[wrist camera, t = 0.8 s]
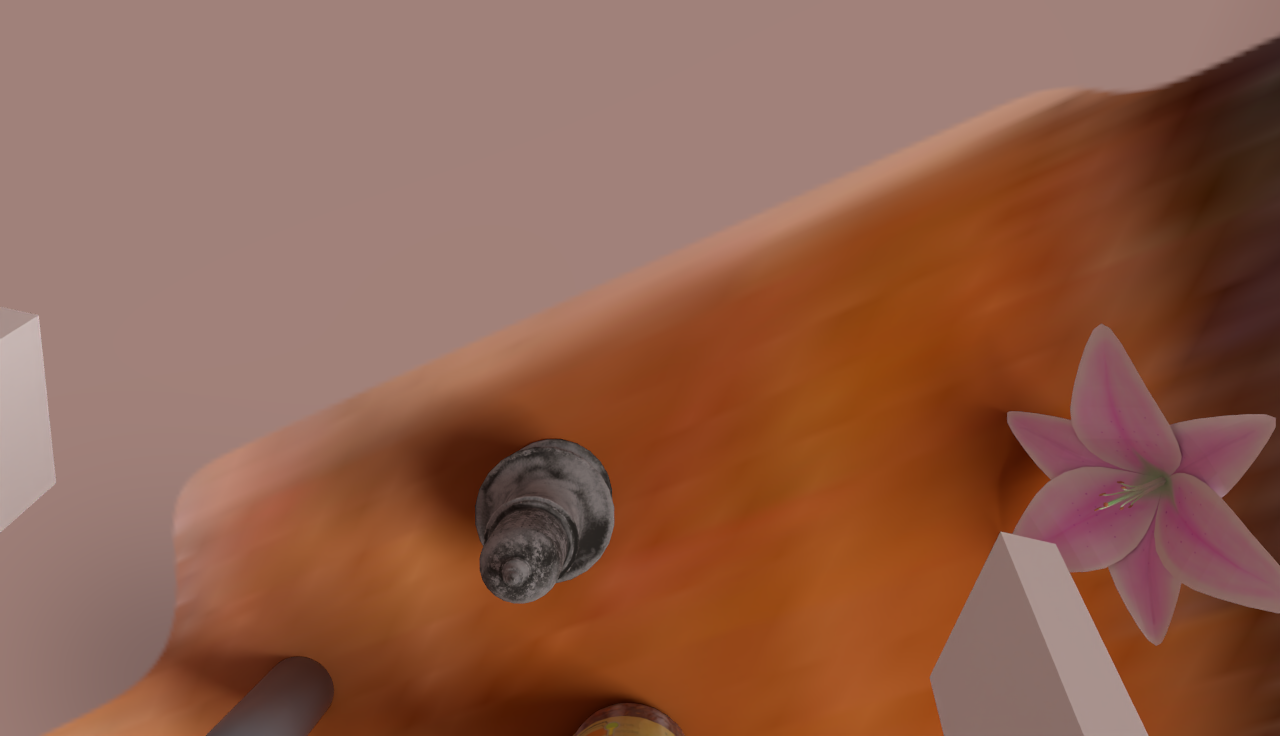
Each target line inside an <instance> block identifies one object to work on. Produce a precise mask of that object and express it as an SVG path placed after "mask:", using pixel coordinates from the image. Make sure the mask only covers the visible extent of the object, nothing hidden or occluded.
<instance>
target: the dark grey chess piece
mask: <svg viewBox="0 0 1280 736" xmlns="http://www.w3.org/2000/svg"><path fill="white" fill-rule="evenodd" d="M475 524H476V528H477V531H478V535H479V538H480V541H481V543H482V545H483V548H482V552H481V555H480V573H481V576H482V580H483V582H484V583H485V585H486V587H487V588H488V589H489V590H490V591H491V592H492V593H493V594H494V595H495V596H497V597H498V598H500V599H502V600H504V601H507V602H511V603H528V602H532V601H535V600H537V599H539V598H540V597H542V596H544V595H545V594H546V593H548V592H549V591H550V590H551V589H552V588H553V586H554V585H555V583H558V582H562V581H566V580H570V579H573V578H575V577H576V576H578V575H580V574H582V573H584V572H586V571H587V570H588V569H589V568H590V567H591V566H593V565H594V564H595V563H596V562H597V561H598V560H599V559H600V558H601V556H602V554H603V552H604V551H605V549H606V547H607V546H608V544H609V542H610V538H611V535H612V531H613V527H614V505H613V501H612V488H611V484H610V480H609V477H608V474H607V472H606V470H605V469H604V467H603V465H602V464H601V462H600V461H599V460H598V459H597V458H596V457H595V456H594V455H593V454H592V453H591V452H590V451H589V450H587V449H585V448H584V447H582V446H580V445H578V444H577V443H573V442H570V441H566V440H562V439H546V440H542V441H538V442H534V443H531V444H529V445H528V446H526V447H524V448H522V449H521V450H519V451H517V452H515V453H513V454H512V455H510V456H508V457H506V458H505V459H503V460H501V461H500V462H499V463H498V464H497V465H496V466H495V467H494V468H493V469H492V470H491V471H490V472H489V473H488V475H487V477H486V479H485V480H484V482H483V484H482V486H481V487H480V489H479V493H478V497H477V501H476V505H475Z"/></svg>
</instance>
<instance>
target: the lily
mask: <svg viewBox="0 0 1280 736" xmlns="http://www.w3.org/2000/svg"><path fill="white" fill-rule="evenodd" d="M1070 409H1071V420H1068V419H1063V418H1059V417H1054V416H1048V415H1043V414H1037V413H1029V412H1020V411H1010V412H1008V413H1007V423H1008V425H1009V427H1010V428H1011V430H1012V432H1013V434H1014V435H1015V437H1016V438H1017V440H1018V441H1019V442H1020V444H1021V445H1022V447H1023V448H1024V450H1025V451H1026V452H1027V453H1028V455H1029V456H1030V457H1031V458H1032V460H1033V461H1034V462H1035V463H1036V465H1037V466H1038V467H1039V468H1040V469H1041V470H1042V471H1043V472H1044V473H1045V474H1046V475H1047V476H1048V477H1049V478H1050V479H1051V481H1049V482H1048V483H1047V484H1046V485H1045V486H1044V487H1043V488H1042V489H1041V490H1040V491H1039V492H1038V493H1037V494H1036V495H1035V497H1034V498H1033V499H1032V501H1031V502H1030V504H1029V505H1028V507H1027V508H1026V510H1025V512H1024V513H1023V515H1022V517H1021V519H1020V520H1019V522H1018V524H1017V525H1016V528H1015V530H1014V532H1013V534H1014V535H1018V536H1022V537H1027V538H1031V539H1036V540H1040V541H1045V542H1049V543H1054V544H1056V546H1057V548H1058V550H1059V552H1060V554H1061V556H1062V558H1063V560H1064V562H1065V564H1066V566H1067V568H1068V571H1069V572H1087V571H1092V570H1098V569H1103V568H1106V567H1109V571H1110V573H1111V576H1112V578H1113V581H1114V583H1115V586H1116V588H1117V590H1118V592H1119V594H1120V596H1121V598H1122V599H1123V601H1124V603H1125V605H1126V607H1127V609H1128V611H1129V612H1130V614H1131V616H1132V617H1133V619H1134V620H1135V622H1136V624H1137V625H1138V627H1139V628H1140V630H1141V631H1142V632H1143V634H1144V635H1145V636H1146V638H1147V639H1148V640H1149V641H1150V642H1152V643H1153V644H1154V645H1158V644H1160V643H1162V641H1163V639H1164V637H1165V635H1166V632H1167V630H1168V627H1169V624H1170V621H1171V619H1172V615H1173V612H1174V609H1175V605H1176V602H1177V599H1178V595H1179V590H1180V586H1181V583H1183V584H1185V585H1186V586H1188V587H1190V588H1192V589H1193V590H1196V591H1199V592H1201V593H1204V594H1207V595H1210V596H1213V597H1216V598H1219V599H1222V600H1226V601H1229V602H1233V603H1236V604H1240V605H1244V606H1247V607H1252V608H1256V609H1261V610H1265V611H1270V612H1275V613H1280V566H1279V565H1278V563H1277V562H1276V561H1275V560H1274V559H1273V558H1272V556H1271V555H1270V554H1269V553H1268V552H1267V551H1266V550H1265V549H1264V547H1263V546H1262V545H1261V544H1260V543H1259V542H1258V541H1257V539H1256V538H1255V537H1254V536H1253V535H1252V534H1251V532H1250V531H1249V530H1248V529H1247V528H1246V526H1245V525H1244V524H1243V523H1242V522H1241V520H1240V519H1239V518H1238V517H1237V515H1236V514H1235V513H1234V512H1233V511H1232V510H1231V508H1230V507H1229V506H1228V505H1227V504H1226V503H1225V502H1224V500H1223V499H1222V497H1223V496H1224V495H1226V494H1227V493H1228V492H1229V491H1230V490H1231V488H1232V487H1233V486H1234V485H1235V484H1236V483H1237V482H1238V481H1239V480H1240V478H1241V477H1242V476H1243V475H1244V473H1245V472H1246V471H1247V469H1248V468H1249V467H1250V466H1251V464H1252V463H1253V462H1254V460H1255V459H1256V458H1257V456H1258V455H1259V453H1260V452H1261V450H1262V449H1263V447H1264V446H1265V444H1266V443H1267V442H1268V440H1269V438H1270V436H1271V434H1272V433H1273V431H1274V429H1275V427H1276V418H1274V417H1272V416H1269V415H1266V414H1245V415H1231V416H1219V417H1211V418H1202V419H1195V420H1190V421H1184V422H1179V423H1175V424H1172V425H1169V424H1168V422H1167V420H1166V419H1165V417H1164V415H1163V414H1162V412H1161V410H1160V409H1159V407H1158V405H1157V404H1156V402H1155V401H1154V399H1153V397H1152V396H1151V394H1150V393H1149V391H1148V389H1147V388H1146V386H1145V384H1144V383H1143V381H1142V379H1141V377H1140V375H1139V374H1138V372H1137V370H1136V368H1135V367H1134V365H1133V363H1132V361H1131V360H1130V358H1129V356H1128V355H1127V353H1126V351H1125V349H1124V348H1123V346H1122V344H1121V343H1120V341H1119V340H1118V338H1117V337H1116V336H1115V334H1114V333H1113V332H1112V330H1111V329H1110V328H1108V327H1107V326H1105V325H1103V324H1100V325H1099V326H1098V327H1096V328H1095V329H1094V330H1093V332H1092V334H1091V336H1090V338H1089V340H1088V342H1087V344H1086V346H1085V349H1084V352H1083V355H1082V358H1081V361H1080V364H1079V368H1078V372H1077V376H1076V380H1075V384H1074V388H1073V394H1072V400H1071V407H1070Z"/></svg>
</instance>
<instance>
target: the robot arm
mask: <svg viewBox="0 0 1280 736" xmlns="http://www.w3.org/2000/svg"><path fill="white" fill-rule="evenodd" d="M54 484H56V477H55V468H54V458H53V449H52V439H51V430H50V420H49V410H48V402H47V391H46V381H45V371H44V362H43V352H42V343H41V333H40V323H39V315H36V314H32V313H27V312H23V311H18V310H13V309H9V308H5V307H0V533H1V532H2V531H3V530H4V529H5V528H6V527H7V526H8V525H9V524H10V523H12V522H13V521H14V520H15V519H16V518H17V517H18V516H20V515H21V514H22V513H23V512H24V511H25V510H26V509H27V508H28V507H30V506H31V505H32V504H33V503H34V502H35V501H36V500H38V499H39V498H40V497H41V496H42V495H43V494H44V493H45V492H47V491H48V490H49V489H50V488H51V487H52V486H53V485H54ZM930 680H931V684H932V688H933V692H934V697H935V701H936V705H937V709H938V713H939V717H940V721H941V725H942V729H943V733H944V736H1148V734H1147V732H1146V730H1145V728H1144V726H1143V724H1142V722H1141V719H1140V717H1139V715H1138V713H1137V711H1136V709H1135V707H1134V705H1133V703H1132V701H1131V699H1130V697H1129V695H1128V693H1127V691H1126V688H1125V686H1124V684H1123V682H1122V680H1121V678H1120V676H1119V674H1118V672H1117V670H1116V668H1115V666H1114V664H1113V662H1112V660H1111V657H1110V655H1109V653H1108V651H1107V649H1106V647H1105V645H1104V643H1103V641H1102V639H1101V637H1100V635H1099V633H1098V631H1097V628H1096V626H1095V624H1094V622H1093V620H1092V618H1091V616H1090V614H1089V612H1088V610H1087V608H1086V606H1085V604H1084V602H1083V600H1082V597H1081V595H1080V593H1079V591H1078V589H1077V587H1076V585H1075V583H1074V581H1073V579H1072V577H1071V575H1070V573H1069V571H1068V568H1067V566H1066V564H1065V562H1064V560H1063V558H1062V556H1061V554H1060V552H1059V550H1058V548H1057V546H1056V544H1054V543H1049V542H1045V541H1040V540H1036V539H1031V538H1027V537H1022V536H1018V535H1014V534H1009V533H1005V532H1000V534H999V536H998V538H997V540H996V542H995V544H994V546H993V548H992V550H991V552H990V554H989V556H988V558H987V560H986V563H985V565H984V567H983V569H982V571H981V573H980V575H979V577H978V579H977V581H976V583H975V585H974V587H973V589H972V591H971V593H970V595H969V597H968V599H967V602H966V604H965V606H964V608H963V610H962V612H961V614H960V616H959V618H958V620H957V622H956V624H955V626H954V628H953V630H952V632H951V634H950V636H949V639H948V641H947V643H946V645H945V647H944V649H943V651H942V653H941V655H940V657H939V659H938V661H937V663H936V665H935V667H934V669H933V671H932V673H931V676H930Z"/></svg>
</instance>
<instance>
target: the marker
mask: <svg viewBox="0 0 1280 736" xmlns="http://www.w3.org/2000/svg"><path fill="white" fill-rule="evenodd" d="M333 694H334V688H333V682H332V679H331V677H330V675H329V673H328V672H327V670H326V669H325V668H324V667H323V666H322V665H321V664H319V663H318V662H316V661H314V660H312V659H310V658H306V657H290V658H287V659H285V660H283V661H281V662H279V663H278V664H277V665H276V666H275V667H274V668H273V669H272V670H271V671H270V672H269V673H268V674H267V675H266V676H265V677H264V678H263V679H262V680H261V681H260V682H259V683H258V684H257V685H256V686H255V687H254V688H253V689H252V690H251V691H250V692H249V693H248V694H247V695H246V696H245V697H244V698H243V699H242V700H241V701H240V702H239V703H238V704H237V705H236V706H235V707H234V708H233V709H232V710H231V711H230V712H229V713H228V714H227V715H226V716H225V717H224V718H223V719H222V720H221V721H220V722H219V723H218V724H217V725H216V726H215V727H214V728H213V729H212V730H211V731H210V732H209V733H208V734H207V735H206V736H307V735H308V734H309V733H310V731H311V730H312V729H313V728H314V726H315V725H316V724H317V722H318V721H319V720H320V719H321V717H322V716H323V715H324V713H325V712H326V711H327V709H328V708H329V706H330V705H331V702H332V699H333Z"/></svg>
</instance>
